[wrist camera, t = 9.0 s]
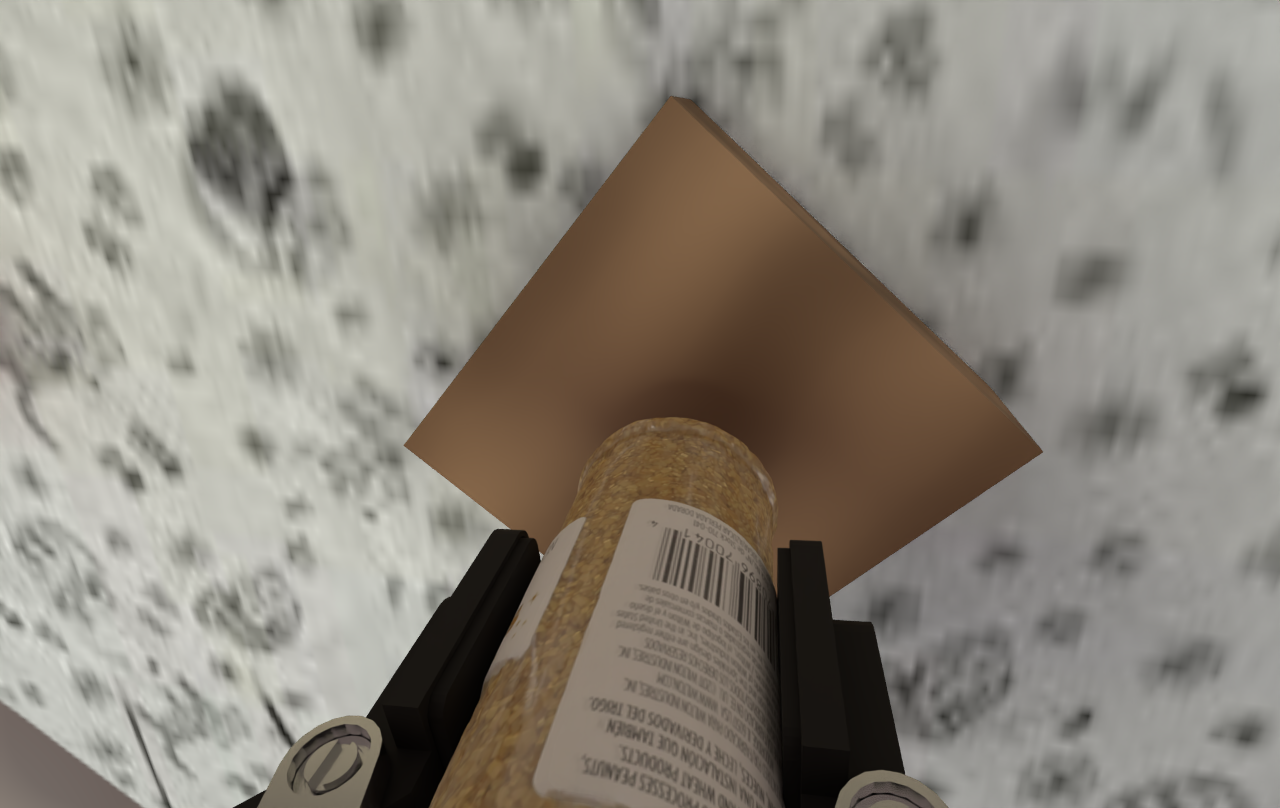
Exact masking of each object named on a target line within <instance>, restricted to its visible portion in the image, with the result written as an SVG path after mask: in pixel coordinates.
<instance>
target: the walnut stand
mask: <svg viewBox="0 0 1280 808" xmlns="http://www.w3.org/2000/svg"><path fill="white" fill-rule="evenodd" d="M668 417H678V418H689V419H694V420H698V421H701V422H706V423H709V424H712V425H714V426H717V427H718V428H720V429H721V430H723V431H725V432H727V433H729V434H730V435H732V436H734V437H736V438H737V439H738V440H740V441H741V442H743V443H744V444H745V445H746V446H747V447H748V449H749V451H751V452H752V453H753V454H755V455H756V456H757V457H758V459H759V460H760V461H761V463H762V465H763V466H764V468H765V470H766V471H767V472H768V474H769V475H770V477H771V479H772V482H773V486H774V489H775V492H776V497H777V503H778V520H777V528H776V532H775V534H774V537H773V539H772V549H773V585H774V587H775V590H776V595H777V548H789V542H790V540H809V541H822V546H823V553H824V560H825V568H826V575H827V583H828V590H829V597H830V596H831V595H833V594H834V593H836V592H837V591H839V590H840V589H842V588H843V587H845V586H846V585H848V584H849V583H850V582H852V581H853V580H855V579H856V578H858V577H859V576H861V575H862V574H864V573H865V572H867V571H868V570H870V569H871V568H873V567H874V566H876V565H877V564H879V563H880V562H882V561H883V560H884V559H886V558H887V557H889V556H890V555H892V554H893V553H895V552H896V551H898V550H899V549H901V548H902V547H904V546H905V545H907V544H908V543H910V542H911V541H913V540H914V539H916V538H917V537H918V536H920V535H921V534H923V533H924V532H926V531H927V530H929V529H930V528H932V527H933V526H935V525H936V524H938V523H939V522H941V521H942V520H944V519H945V518H947V517H948V516H949V515H951V514H952V513H954V512H955V511H957V510H958V509H960V508H961V507H963V506H964V505H966V504H967V503H969V502H970V501H972V500H973V499H975V498H976V497H978V496H979V495H981V494H982V493H983V492H985V491H986V490H988V489H989V488H991V487H992V486H994V485H995V484H997V483H998V482H1000V481H1001V480H1003V479H1004V478H1006V477H1007V476H1009V475H1010V474H1012V473H1013V472H1014V471H1016V470H1017V469H1019V468H1020V467H1022V466H1023V465H1025V464H1026V463H1028V462H1029V461H1031V460H1032V459H1034V458H1035V457H1037V456H1038V455H1040V454H1041V453H1043V451H1042V450H1041V449H1040V447H1039V446H1038V445H1037V444H1036V442H1035V441H1034V440H1033V439H1032V438H1031V436H1030V435H1029V434H1028V433H1027V432H1026V430H1025V429H1024V428H1023V427H1022V425H1021V424H1020V423H1019V422H1018V421H1017V419H1016V418H1015V417H1014V416H1013V415H1012V413H1011V412H1010V411H1009V410H1008V408H1007V407H1006V406H1005V405H1004V404H1003V402H1002V401H1001V400H1000V399H999V398H998V396H997V395H996V394H995V393H994V391H993V390H992V389H991V388H990V387H989V386H988V385H987V384H986V383H985V382H984V381H983V380H982V379H981V378H980V377H979V376H978V375H977V374H976V373H975V372H974V371H973V370H972V369H971V368H970V367H968V366H967V365H966V364H965V363H964V362H963V361H962V360H961V359H960V358H959V357H958V356H957V355H956V354H955V353H954V352H953V351H952V350H951V349H950V348H949V347H948V346H947V345H946V344H945V343H944V342H942V341H941V340H940V339H939V338H938V337H937V336H936V335H935V334H934V333H933V332H932V331H931V330H930V329H929V328H928V327H927V326H926V325H925V324H924V323H923V322H922V321H921V320H920V319H919V318H917V317H916V316H915V315H914V314H913V313H912V312H911V311H910V310H909V309H908V308H907V307H906V306H905V305H904V304H903V303H902V302H901V301H900V300H899V299H898V298H897V297H896V296H895V295H894V294H893V293H891V292H890V291H889V290H888V289H887V288H886V287H885V286H884V285H883V284H882V283H881V282H880V281H879V280H878V279H877V278H876V277H875V276H874V275H873V274H872V273H871V272H870V271H869V270H868V269H866V268H865V267H864V266H863V265H862V264H861V263H860V262H859V261H858V260H857V259H856V258H855V257H854V256H853V255H852V254H851V253H850V252H849V251H848V250H847V249H846V248H845V247H844V246H843V245H842V244H840V243H839V242H838V241H837V240H836V239H835V238H834V237H833V236H832V235H831V234H830V233H829V232H828V231H827V230H826V229H825V228H824V227H823V226H822V225H821V224H820V223H819V222H818V221H817V220H815V219H814V218H813V217H812V216H811V215H810V214H809V213H808V212H807V211H806V210H805V209H804V208H803V207H802V206H801V205H800V204H799V203H798V202H797V201H796V200H795V199H794V198H793V197H792V196H791V195H789V194H788V193H787V192H786V191H785V190H784V189H783V188H782V187H781V186H780V185H779V184H778V183H777V182H776V181H775V180H774V179H773V178H772V177H771V176H770V175H769V174H768V173H767V172H766V171H764V170H763V169H762V168H761V167H760V166H759V165H758V164H757V163H756V162H755V161H754V160H753V159H752V158H751V157H750V156H749V155H748V154H747V153H746V152H745V151H744V150H743V149H742V148H741V147H740V146H738V145H737V144H736V143H735V142H734V141H733V140H732V139H731V138H730V137H729V136H728V135H727V134H726V133H725V132H724V131H723V130H722V129H721V128H720V127H719V126H718V125H717V124H716V123H715V122H713V121H712V120H711V119H710V118H709V117H708V116H707V115H706V114H705V113H704V112H703V111H702V110H701V109H700V108H699V107H698V106H697V105H696V104H695V103H694V102H693V101H692V100H690V99H685V98H679V97H674V96H670V98H669V99H668V100H667V102H666V103H665V104H664V106H663V107H662V108H661V110H660V111H659V112H658V113H657V115H656V116H655V117H654V119H653V120H652V121H651V123H650V124H649V125H648V127H647V128H646V129H645V130H644V132H643V133H642V134H641V136H640V137H639V138H638V140H637V141H636V142H635V144H634V145H633V146H632V147H631V149H630V150H629V151H628V153H627V154H626V155H625V157H624V158H623V159H622V161H621V162H620V163H619V164H618V166H617V167H616V168H615V170H614V171H613V172H612V174H611V175H610V176H609V178H608V179H607V180H606V181H605V183H604V184H603V185H602V187H601V188H600V189H599V191H598V192H597V193H596V195H595V196H594V197H593V198H592V200H591V201H590V202H589V204H588V205H587V206H586V208H585V209H584V210H583V212H582V213H581V214H580V215H579V217H578V218H577V219H576V221H575V222H574V223H573V225H572V226H571V227H570V229H569V230H568V231H567V232H566V234H565V235H564V236H563V238H562V239H561V240H560V242H559V243H558V244H557V246H556V247H555V248H554V249H553V251H552V252H551V253H550V255H549V256H548V257H547V259H546V260H545V261H544V263H543V264H542V265H541V266H540V268H539V269H538V270H537V272H536V273H535V274H534V276H533V277H532V278H531V280H530V281H529V282H528V283H527V285H526V286H525V287H524V289H523V290H522V291H521V293H520V294H519V295H518V297H517V298H516V299H515V300H514V302H513V303H512V304H511V306H510V307H509V308H508V310H507V311H506V312H505V314H504V315H503V316H502V317H501V319H500V320H499V321H498V323H497V324H496V325H495V327H494V328H493V329H492V331H491V332H490V333H489V335H488V336H487V337H486V338H485V340H484V341H483V342H482V344H481V345H480V346H479V348H478V349H477V350H476V352H475V353H474V354H473V355H472V357H471V358H470V359H469V361H468V362H467V363H466V365H465V366H464V367H463V369H462V370H461V371H460V372H459V374H458V375H457V376H456V378H455V379H454V380H453V382H452V383H451V384H450V386H449V387H448V388H447V389H446V391H445V392H444V393H443V395H442V396H441V397H440V399H439V400H438V401H437V403H436V404H435V405H434V406H433V408H432V409H431V410H430V412H429V413H428V414H427V416H426V417H425V418H424V420H423V421H422V422H421V423H420V425H419V426H418V427H417V429H416V430H415V431H414V433H413V434H412V435H411V437H410V438H409V439H408V440H407V442H406V443H405V444H404V446H405V447H406V448H407V449H409V450H410V451H411V452H413V453H414V454H415V455H416V456H418V457H419V458H420V459H422V460H423V461H424V462H425V463H427V464H428V465H429V466H430V467H432V468H433V469H434V470H436V471H437V472H438V473H439V474H441V475H442V476H443V477H445V478H446V479H447V480H448V481H450V482H451V483H452V484H454V485H455V486H456V487H457V488H459V489H460V490H461V491H463V492H464V493H465V494H466V495H468V496H469V497H470V498H471V499H473V500H474V501H475V502H477V503H478V504H479V505H480V506H482V507H483V508H484V509H486V510H487V511H488V512H489V513H491V514H492V515H493V516H495V517H496V518H497V519H498V520H500V521H501V522H502V523H504V524H505V525H506V526H507V527H509V528H510V529H511V530H525V531H526V532H527V534H528V536H529V538H534V539H536V541H537V544H538V549H539V552H541V553H542V554H543V555H544V554H545V552H546V551H547V549H548V547H549V546H550V544H551V543H552V541H553V540H554V539H555V537H556V536H557V535H558V534H559V532H560V530H561V528H562V526H563V524H564V521H565V519H566V516H567V514H568V513H569V511H570V509H571V507H572V505H573V502H574V500H575V498H576V496H577V490H578V485H579V480H580V476H581V473H582V470H583V468H584V466H585V464H586V462H587V461H588V459H589V458H590V457H591V456H592V454H593V453H594V452H595V450H596V449H597V448H598V447H600V446H601V445H602V443H603V442H604V441H605V440H606V439H607V438H608V437H609V436H611V435H612V434H613V433H615V432H616V431H618V430H619V429H621V428H623V427H625V426H627V425H629V424H631V423H633V422H635V421H638V420H644V419H652V418H668Z"/></svg>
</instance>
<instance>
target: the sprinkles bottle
mask: <svg viewBox="0 0 1280 808" xmlns="http://www.w3.org/2000/svg"><path fill="white" fill-rule="evenodd" d="M777 520H778V503H777V497H776V492H775V489H774V486H773V482H772V479H771V477H770V475H769V474H768V472H767V471H766V470H765V468H764V466H763V465H762V463H761V461H760V460H759V459H758V457H757V456H756V455H755V454H753V453H752V452H751V451H749V449H748V447H747V446H746V445H745V444H744V443H743V442H741V441H740V440H738V439H737V438H736V437H734V436H732V435H730V434H729V433H727V432H725V431H723V430H721V429H720V428H718V427H717V426H714V425H712V424H709V423H706V422H701V421H698V420H694V419H689V418H678V417H668V418H652V419H644V420H638V421H635V422H633V423H631V424H629V425H627V426H625V427H623V428H621V429H619V430H618V431H616V432H615V433H613V434H612V435H611V436H609V437H608V438H607V439H606V440H605V441H604V442H603V443H602V445H601V446H600V447H598V448H597V449H596V450H595V452H594V453H593V454H592V456H591V457H590V458H589V459H588V461H587V462H586V464H585V466H584V468H583V470H582V473H581V476H580V480H579V485H578V490H577V496H576V498H575V500H574V502H573V505H572V507H571V509H570V511H569V513H568V514H567V516H566V519H565V521H564V524H563V526H562V528H561V530H560V532H559V534H558V535H557V536H556V537H555V539H554V540H553V541H552V543H551V544H550V546H549V547H548V549H547V551H546V552H545V554H544V556H543V558H542V560H541V562H540V564H539V566H538V568H537V570H536V572H535V574H534V576H533V578H532V580H531V582H530V584H529V587H528V589H527V591H526V593H525V595H524V597H523V599H522V602H521V604H520V606H519V608H518V610H517V612H516V614H515V616H514V619H513V621H512V623H511V625H510V627H509V629H508V631H507V633H506V635H505V637H504V639H503V641H502V643H501V645H500V647H499V649H498V651H497V653H496V656H495V658H494V660H493V662H492V664H491V666H490V669H489V671H488V673H487V675H486V677H485V680H484V683H483V687H482V691H481V696H480V700H479V702H478V704H477V706H476V708H475V710H474V713H473V715H472V717H471V720H470V722H469V723H468V725H467V726H466V728H465V730H464V732H463V735H462V737H461V740H460V742H459V744H458V746H457V748H456V750H455V752H454V754H453V756H452V758H451V760H450V762H449V765H448V767H447V769H446V771H445V774H444V776H443V778H442V780H441V782H440V784H439V786H438V788H437V790H436V793H435V795H434V797H433V800H432V802H431V804H430V806H429V808H785V804H784V800H783V781H782V744H781V709H780V673H779V640H778V605H777V595H776V590H775V587H774V585H773V549H772V539H773V537H774V534H775V532H776V528H777Z"/></svg>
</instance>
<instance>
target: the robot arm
mask: <svg viewBox="0 0 1280 808" xmlns="http://www.w3.org/2000/svg"><path fill="white" fill-rule="evenodd" d="M540 562H541V560H540V554H539V549H538V544H537V541H536V539H534V538H529V536H528V534H527V532H526V531H525V530H510V529H496V530H494V531H493V532H492V534H491V535H490V537H489V538H488V540H487V541H486V543H485V545H484V546H483V548H482V549H481V551H480V552H479V554H478V555H477V557H476V559H475V560H474V562H473V563H472V565H471V566H470V568H469V569H468V571H467V572H466V574H465V576H464V577H463V579H462V580H461V582H460V583H459V585H458V586H457V588H456V590H455V591H454V593H453V594H452V596H451V597H448V598H447V599H445V600H444V601H443V602H442V603H441V604H440V605H439V607H438V608H437V610H436V611H435V613H434V614H433V616H432V618H431V619H430V621H429V622H428V624H427V625H426V627H425V628H424V630H423V631H422V633H421V634H420V636H419V637H418V639H417V640H416V642H415V643H414V645H413V646H412V648H411V650H410V651H409V653H408V654H407V656H406V657H405V659H404V660H403V662H402V663H401V665H400V666H399V668H398V669H397V671H396V672H395V674H394V675H393V677H392V678H391V680H390V682H389V683H388V685H387V686H386V688H385V689H384V691H383V692H382V694H381V695H380V697H379V698H378V700H377V701H376V703H375V704H374V706H373V707H372V709H371V710H370V712H369V714H368V715H367V717H363V716H344V717H340V718H335V719H332V720H330V721H328V722H326V723H323V724H321V725H319V726H317V727H316V728H314V729H313V730H311V731H310V732H308V733H307V734H305V735H304V736H302V737H301V738H300V739H299V740H298V741H297V742H296V743H295V744H294V745H293V746H292V747H291V748H290V749H289V751H288V752H287V754H286V755H285V757H284V758H283V760H282V761H281V763H280V764H279V766H278V768H277V770H276V772H275V774H274V776H273V778H272V780H271V782H270V784H269V786H268V788H267V790H265V791H263V792H261V793H259V794H257V795H256V796H254V797H252V798H250V799H248V800H246V801H244V802H243V803H241V804H239V805H237V806H235V807H233V808H429V806H430V804H431V802H432V800H433V797H434V795H435V793H436V790H437V788H438V786H439V784H440V782H441V780H442V778H443V776H444V774H445V771H446V769H447V767H448V765H449V762H450V760H451V758H452V756H453V754H454V752H455V750H456V748H457V746H458V744H459V742H460V740H461V737H462V735H463V732H464V730H465V728H466V726H467V725H468V723H469V722H470V720H471V717H472V715H473V713H474V710H475V708H476V706H477V704H478V702H479V700H480V696H481V691H482V687H483V683H484V680H485V677H486V675H487V673H488V671H489V669H490V666H491V664H492V662H493V660H494V658H495V656H496V653H497V651H498V649H499V647H500V645H501V643H502V641H503V639H504V637H505V635H506V633H507V631H508V629H509V627H510V625H511V623H512V621H513V619H514V616H515V614H516V612H517V610H518V608H519V606H520V604H521V602H522V599H523V597H524V595H525V593H526V591H527V589H528V587H529V584H530V582H531V580H532V578H533V576H534V574H535V572H536V570H537V568H538V566H539V564H540ZM777 605H778V640H779V673H780V709H781V744H782V781H783V800H784V804H785V808H948V806H947V805H946V804H945V803H944V802H943V801H942V800H941V799H940V797H939V796H938V795H937V794H936V793H935V792H933V791H932V790H931V789H929V788H928V787H926V786H925V785H924V784H922V783H921V782H920V781H918V780H916V779H913V778H911V777H908V776H906V775H905V771H904V766H903V761H902V757H901V752H900V747H899V743H898V738H897V733H896V729H895V724H894V719H893V715H892V710H891V705H890V700H889V696H888V691H887V686H886V682H885V677H884V672H883V668H882V663H881V658H880V653H879V649H878V644H877V639H876V635H875V631H874V627H873V625H872V623H871V622H861V621H844V620H832V612H831V605H830V598H829V590H828V583H827V575H826V568H825V560H824V553H823V546H822V541H809V540H790V542H789V548H777Z"/></svg>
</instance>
